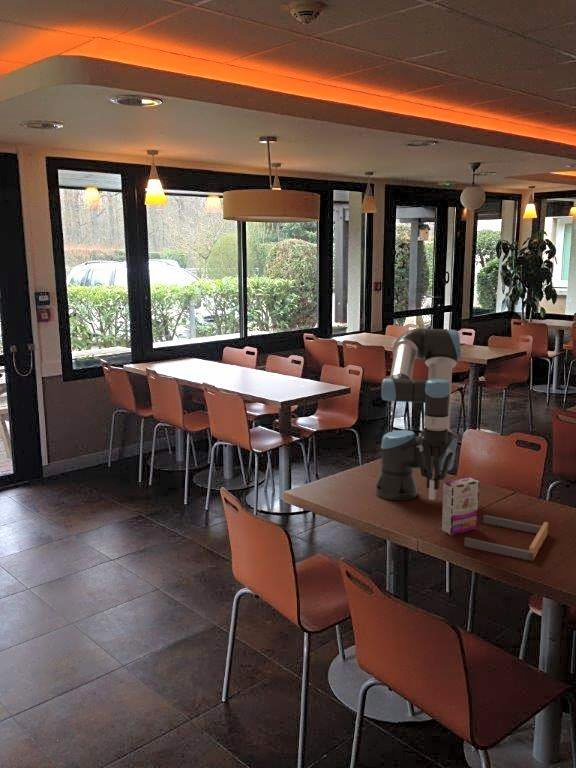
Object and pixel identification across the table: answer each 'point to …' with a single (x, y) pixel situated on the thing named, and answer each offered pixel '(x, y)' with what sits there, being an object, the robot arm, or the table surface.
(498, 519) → the u-shaped frame
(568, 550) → the table surface
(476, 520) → the candy bar box
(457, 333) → the robot arm
